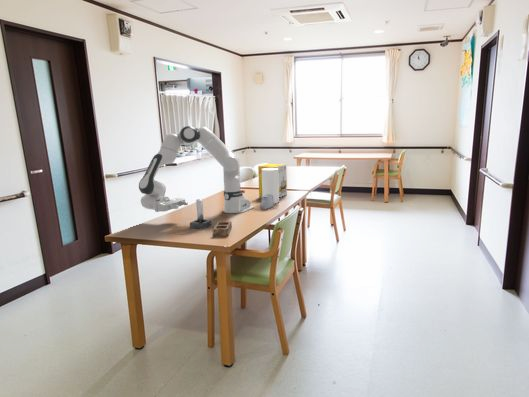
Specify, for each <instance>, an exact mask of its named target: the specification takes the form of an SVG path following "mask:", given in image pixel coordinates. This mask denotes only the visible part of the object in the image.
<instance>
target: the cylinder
mask: <svg viewBox="0 0 529 397" xmlns="http://www.w3.org/2000/svg"><path fill="white" fill-rule="evenodd" d="M265 195H273V203H276V204H279V203H280V198H279V171H278V168H264V169H262V196H265ZM278 202H279V203H278Z"/></svg>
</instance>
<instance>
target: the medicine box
mask: <svg viewBox="0 0 529 397" xmlns="http://www.w3.org/2000/svg"><path fill="white" fill-rule="evenodd" d="M260 198H261V209H263V208H264V210H267V208H268V209H270V207H271V208H274V204H273V195H265V196H262V197H260Z"/></svg>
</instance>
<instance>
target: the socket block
mask: <svg viewBox="0 0 529 397" xmlns="http://www.w3.org/2000/svg"><path fill="white" fill-rule="evenodd" d="M212 224H213V222H212V219H206V218H205V219H204V222H203V223H198V219H194V220H193V221H190V222H189V228H193V229H201V230H204V229H206V228H208V227H210V226H212Z"/></svg>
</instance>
